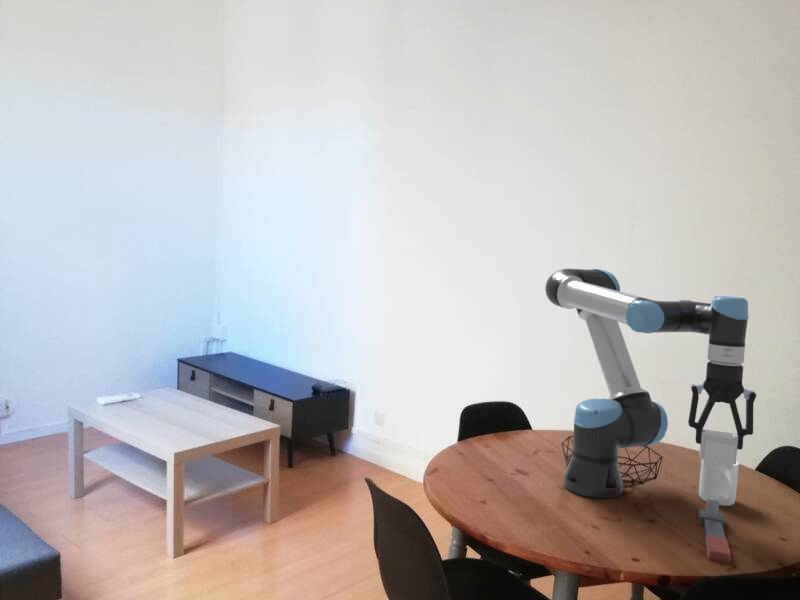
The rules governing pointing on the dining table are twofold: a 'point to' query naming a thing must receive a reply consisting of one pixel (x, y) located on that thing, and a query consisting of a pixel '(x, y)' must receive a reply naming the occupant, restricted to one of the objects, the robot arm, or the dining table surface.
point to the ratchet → (714, 531)
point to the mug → (719, 483)
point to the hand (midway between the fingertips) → (717, 459)
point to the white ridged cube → (719, 449)
